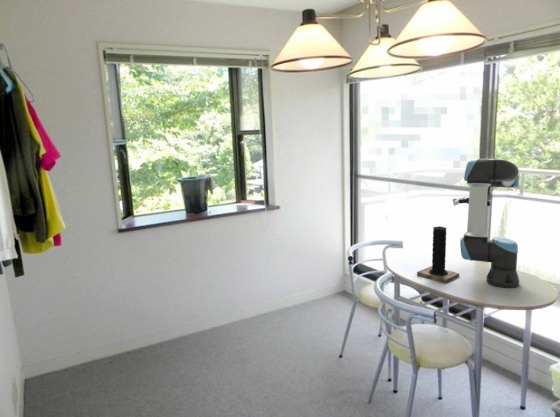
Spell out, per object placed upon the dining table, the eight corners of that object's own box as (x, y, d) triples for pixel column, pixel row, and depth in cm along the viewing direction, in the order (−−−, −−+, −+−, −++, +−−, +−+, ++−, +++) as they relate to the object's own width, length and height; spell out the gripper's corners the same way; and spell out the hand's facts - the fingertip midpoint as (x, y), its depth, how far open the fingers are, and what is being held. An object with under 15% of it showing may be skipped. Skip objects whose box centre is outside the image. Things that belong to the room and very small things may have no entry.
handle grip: (450, 275, 216) (444, 269, 226) (452, 228, 211) (446, 224, 221) (431, 275, 217) (426, 269, 227) (433, 228, 212) (427, 224, 222)
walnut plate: (459, 276, 219) (459, 273, 219) (445, 283, 211) (445, 279, 211) (431, 269, 233) (431, 266, 232) (417, 275, 224) (417, 271, 224)
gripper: (500, 206, 233) (490, 213, 217) (456, 203, 249) (444, 208, 234) (501, 194, 231) (491, 199, 216) (457, 191, 248) (444, 196, 233)
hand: (466, 204), depth 225 cm, fingers open, 13 cm apart
